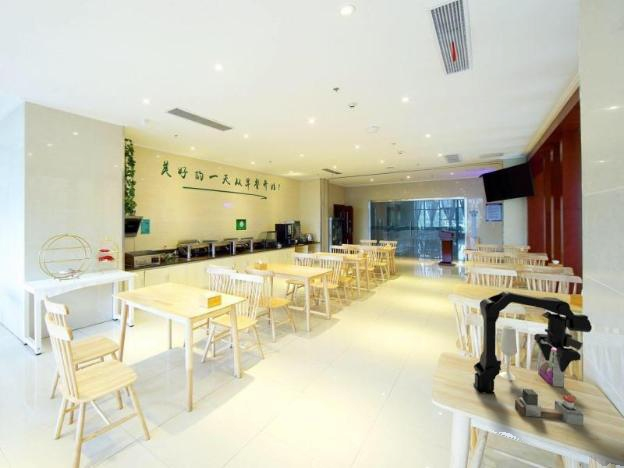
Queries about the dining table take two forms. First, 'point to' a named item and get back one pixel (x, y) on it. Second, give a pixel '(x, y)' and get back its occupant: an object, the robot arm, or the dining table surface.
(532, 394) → the carriage
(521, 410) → the rail
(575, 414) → the button housing
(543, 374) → the candy bar box
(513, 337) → the champagne flute
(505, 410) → the dining table surface
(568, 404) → the red plunger button
